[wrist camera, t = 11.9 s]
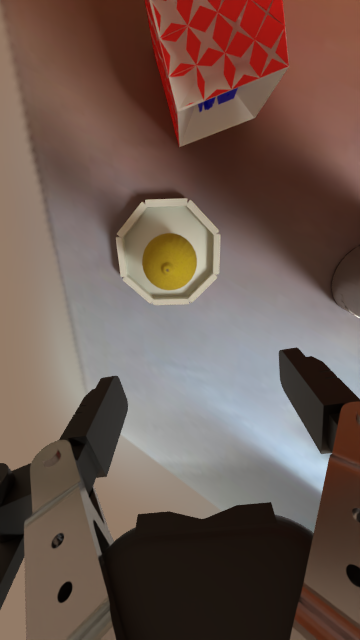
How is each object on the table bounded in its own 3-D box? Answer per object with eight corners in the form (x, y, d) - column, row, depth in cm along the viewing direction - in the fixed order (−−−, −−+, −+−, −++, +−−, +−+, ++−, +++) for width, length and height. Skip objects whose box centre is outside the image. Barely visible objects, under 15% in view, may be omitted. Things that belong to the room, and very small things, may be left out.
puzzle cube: (238, 9, 20) (271, -121, 12) (255, 118, 22) (289, 65, 15) (152, 48, 21) (135, -50, 13) (178, 148, 23) (176, 112, 16)
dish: (166, 175, 24) (164, 172, 23) (237, 252, 27) (240, 254, 26) (102, 256, 28) (97, 258, 26) (172, 317, 31) (171, 322, 29)
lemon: (139, 262, 27) (123, 277, 20) (165, 220, 25) (158, 221, 18) (177, 288, 28) (175, 311, 21) (204, 250, 26) (212, 262, 19)
